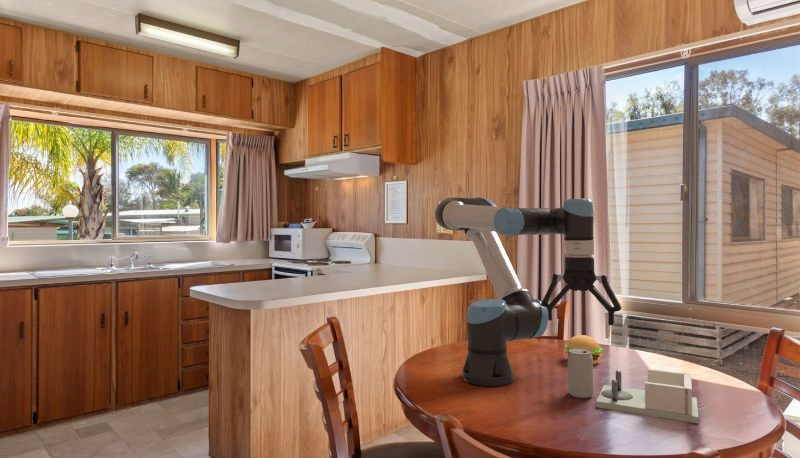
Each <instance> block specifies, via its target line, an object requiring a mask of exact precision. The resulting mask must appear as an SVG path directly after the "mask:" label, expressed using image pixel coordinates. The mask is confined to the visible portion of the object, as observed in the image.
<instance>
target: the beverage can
mask: <svg viewBox="0 0 800 458" xmlns="http://www.w3.org/2000/svg"><path fill="white" fill-rule="evenodd" d="M567 356H568V358H567V390H568V391H567V392H568V394H570V396H571V397H574V398H576V399H577V398H578V399H590V398H591V397H592V396H593V395H594V365H593V356H592V355H591V351H589V350H585V349H571V350H569V354H568V353H567Z"/></svg>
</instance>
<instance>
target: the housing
mask: <svg viewBox="0 0 800 458" xmlns="http://www.w3.org/2000/svg"><path fill="white" fill-rule="evenodd" d="M644 390H645V408H649V409H656V410H662V411H669V412H675V413H682V414H688V415H692V397H693V388H692V374H691V373H689V372H681V371H672V370H663V369H656V368H647V381H645V382H644Z"/></svg>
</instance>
